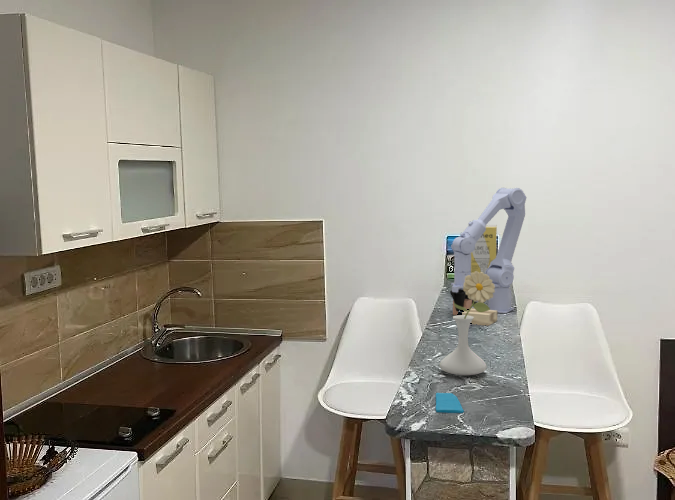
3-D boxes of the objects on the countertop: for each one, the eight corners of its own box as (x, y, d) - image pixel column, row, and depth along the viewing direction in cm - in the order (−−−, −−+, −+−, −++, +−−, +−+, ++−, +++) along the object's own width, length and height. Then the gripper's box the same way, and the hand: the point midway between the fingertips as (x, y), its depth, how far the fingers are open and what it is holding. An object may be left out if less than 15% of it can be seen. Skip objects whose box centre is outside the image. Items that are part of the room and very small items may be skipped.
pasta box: (470, 290, 301) (471, 224, 298) (495, 291, 298) (496, 224, 296) (468, 297, 283) (469, 227, 280) (495, 298, 281) (496, 227, 278)
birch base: (471, 318, 240) (471, 308, 240) (497, 320, 236) (497, 310, 235) (461, 323, 233) (461, 312, 232) (488, 325, 228) (488, 315, 228)
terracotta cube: (458, 312, 251) (458, 298, 251) (471, 313, 249) (471, 299, 248) (452, 314, 247) (452, 300, 246) (466, 315, 244) (466, 301, 244)
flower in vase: (439, 378, 168) (440, 273, 165) (439, 366, 179) (439, 267, 177) (495, 380, 166) (497, 274, 164) (491, 367, 177) (493, 268, 175)
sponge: (462, 393, 154) (435, 389, 155) (465, 411, 142) (436, 407, 143) (461, 400, 155) (434, 396, 155) (464, 418, 143) (435, 414, 143)
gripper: (459, 268, 255) (459, 305, 256) (443, 273, 242) (443, 312, 244) (478, 269, 251) (478, 307, 252) (463, 274, 239) (462, 314, 240)
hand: (462, 310), depth 248 cm, fingers closed on terracotta cube, 5 cm apart
